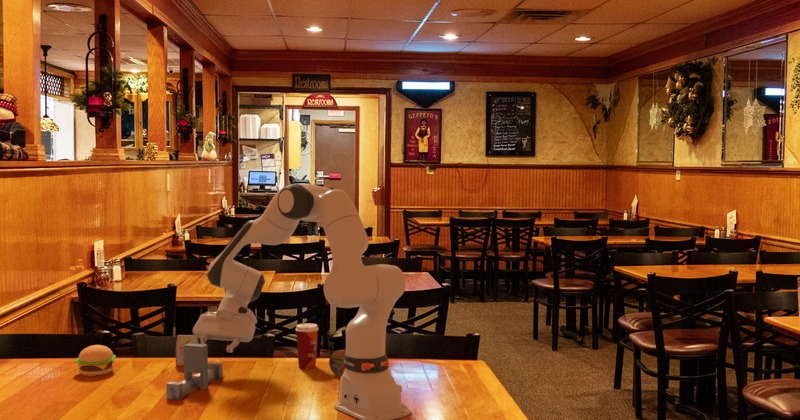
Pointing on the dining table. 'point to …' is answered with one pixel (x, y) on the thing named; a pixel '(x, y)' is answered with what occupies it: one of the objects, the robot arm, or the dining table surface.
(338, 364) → the tin
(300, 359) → the paper cup
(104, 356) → the hamburger
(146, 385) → the dining table surface
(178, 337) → the printed food carton
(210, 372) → the rail
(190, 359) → the clip
